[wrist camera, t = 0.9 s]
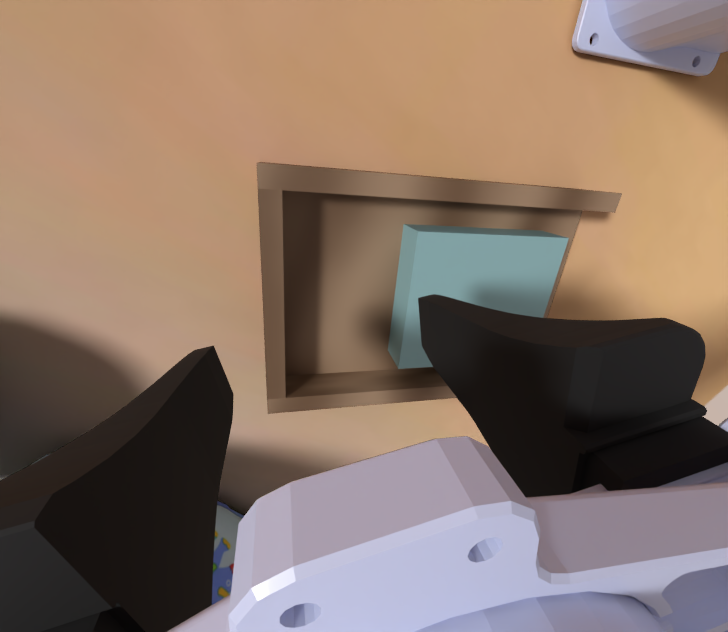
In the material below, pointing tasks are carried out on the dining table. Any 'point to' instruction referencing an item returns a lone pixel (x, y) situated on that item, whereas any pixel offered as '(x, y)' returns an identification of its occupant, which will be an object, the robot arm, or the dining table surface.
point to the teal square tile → (469, 276)
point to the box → (369, 271)
